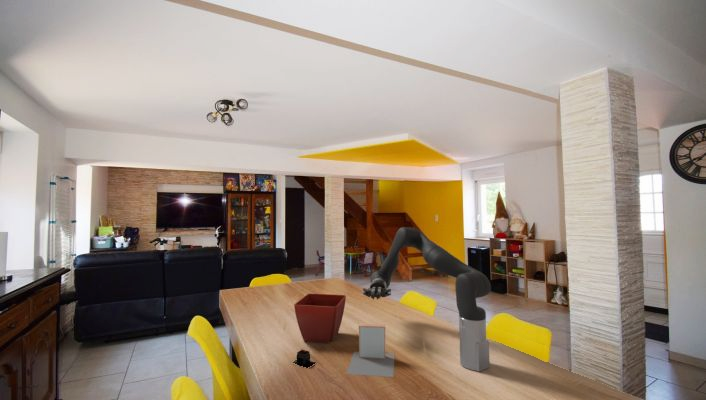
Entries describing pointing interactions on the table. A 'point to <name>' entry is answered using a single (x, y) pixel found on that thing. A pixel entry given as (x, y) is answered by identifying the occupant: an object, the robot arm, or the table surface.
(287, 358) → the table surface
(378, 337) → the tile
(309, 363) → the black blocky piece
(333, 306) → the plant pot
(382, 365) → the mat
